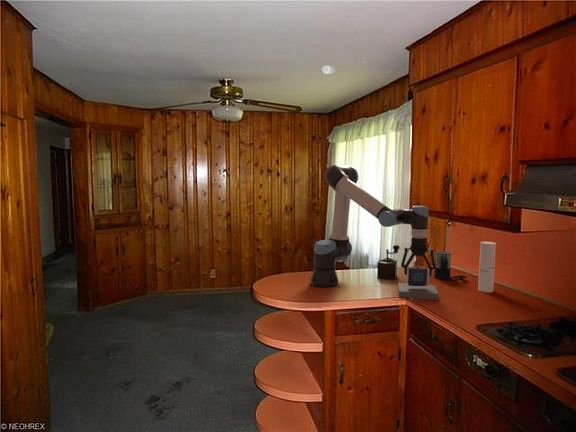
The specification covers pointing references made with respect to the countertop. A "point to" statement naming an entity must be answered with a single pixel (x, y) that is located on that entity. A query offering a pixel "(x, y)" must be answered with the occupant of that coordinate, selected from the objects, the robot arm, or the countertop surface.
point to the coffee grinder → (388, 266)
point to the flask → (417, 276)
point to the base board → (417, 291)
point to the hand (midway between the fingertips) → (417, 281)
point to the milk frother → (444, 266)
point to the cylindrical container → (487, 266)
